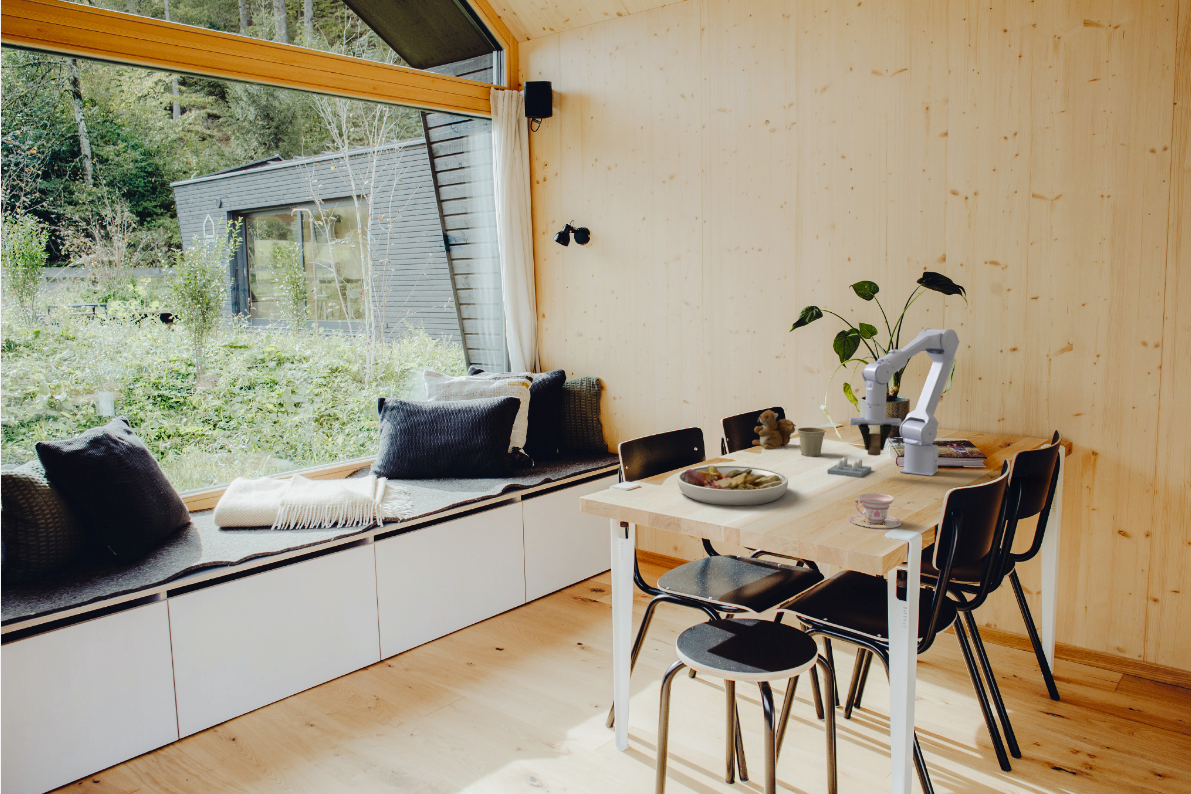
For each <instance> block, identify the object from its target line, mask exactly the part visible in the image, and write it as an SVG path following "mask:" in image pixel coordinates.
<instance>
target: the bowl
mask: <svg viewBox="0 0 1191 794" xmlns="http://www.w3.org/2000/svg"><path fill="white" fill-rule="evenodd" d="M677 485H678V487H679V489H680V491H681V492H682V494H683V495H685V496H687V497H688V498H690V499H692V500H694V501H698V502H701V503H706V504H710V503H712V504H711V505H717V504H720V505H721V506H730V505H745V506H756V505H764V504H767V503H771V502H774V501H776V500H778V499H779V498H781V497H782V496H784V494H785V493H786V491H787V490H788V485H789V478H788V477H787V476H786V475H785V474H783V473H780V472H778V471H775V470H772V469H768V468H767V469H766V468H761V467H755V466H745V465H713V464H711V465H707V466H702V467H701V466H700V467H694V468H689V469H687V470H683V471H681V472H679V474H678V475H677ZM763 503H764V504H763ZM720 505H719V506H720Z"/></svg>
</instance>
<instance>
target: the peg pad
mask: <svg viewBox="0 0 1191 794" xmlns="http://www.w3.org/2000/svg"><path fill="white" fill-rule="evenodd" d="M836 462H837V463H836V464H835V465H834V466H832V467H830V468H828V469H827V473H828V475H835V474H836V475H837V476H843V475H846V476H845V477H852V476H853V477H854V478H860V477H861V478H862V477H864V476H865V475H867V474H869V473H870V472H872V466H869V465H867V466H866V465H863V459H862V458H857V459H856V461H852V462H851V463H852V464H849V463H848V457H842V458H841V459H839V460H837V461H836ZM853 477H852V478H853Z"/></svg>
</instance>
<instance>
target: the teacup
mask: <svg viewBox="0 0 1191 794" xmlns="http://www.w3.org/2000/svg"><path fill="white" fill-rule="evenodd" d="M857 498H858V499H857V500H855V501H854V502H855V506H856V510H857V511H858V512H859V513H856V514H853V515H851V516H850V517H849V518H848V520H849V521H851V522H850V523H852V524H853V525H856V524H857V526H859V525H860V526H859V527H863V526H865V528H869V527H870V528H871V529H894V528H899V527H900V526H902V524H903V522H902V520H901V519H900V518H898V517H894V516H891V515H888V510H889V508H890V505H891V504H892V503H893V502H894V500H895V499H896V498H895V497H894V496H892V495H888V494H883V493H862V494H859V495H858V496H857ZM859 504H862V507H863V511H861V510H860V507H859ZM861 516H864V517H865V518H867V519H868V520H867V521H869V522H868V523H870V522H872V523H871V524H876V523H879V524H883V525H884V524H885V526H886V527H874V526H866V525H861V524H858V523H856V522H854V520H853V519H854V518H856V517H861ZM883 522H885V523H883Z"/></svg>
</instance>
